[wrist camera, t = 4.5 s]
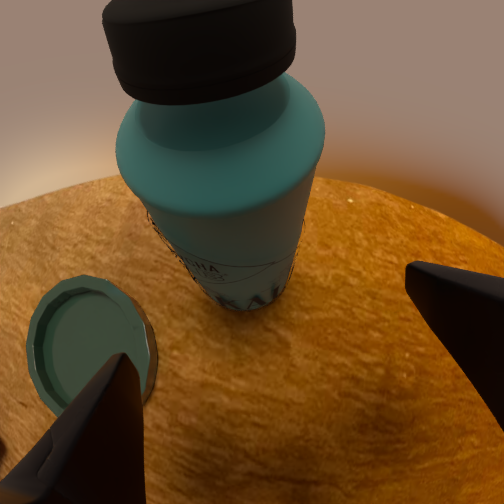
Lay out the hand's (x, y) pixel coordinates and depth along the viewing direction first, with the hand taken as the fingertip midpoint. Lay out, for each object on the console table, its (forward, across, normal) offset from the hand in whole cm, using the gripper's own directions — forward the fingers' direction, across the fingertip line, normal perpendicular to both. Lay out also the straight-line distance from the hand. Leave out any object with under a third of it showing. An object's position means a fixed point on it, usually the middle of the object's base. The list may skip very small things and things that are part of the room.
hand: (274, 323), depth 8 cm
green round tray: (+11, +14, +7) cm, 19 cm away
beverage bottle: (+13, 0, +5) cm, 14 cm away
